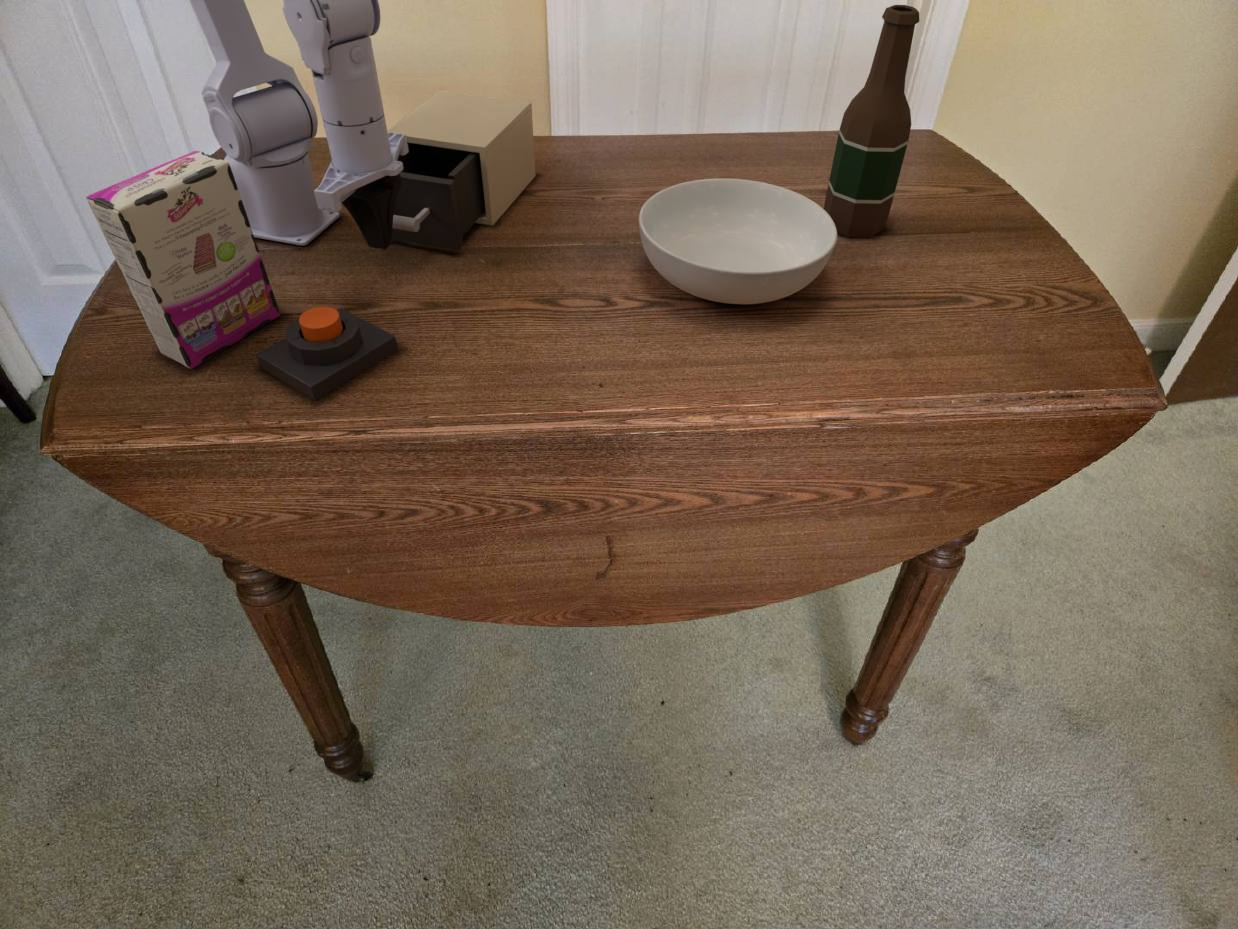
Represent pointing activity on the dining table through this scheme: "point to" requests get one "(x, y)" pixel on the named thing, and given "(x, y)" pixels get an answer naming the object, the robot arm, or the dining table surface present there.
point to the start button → (320, 324)
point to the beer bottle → (874, 135)
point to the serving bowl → (736, 239)
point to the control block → (327, 356)
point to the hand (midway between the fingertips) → (379, 245)
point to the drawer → (438, 196)
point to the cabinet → (480, 140)
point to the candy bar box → (188, 255)
